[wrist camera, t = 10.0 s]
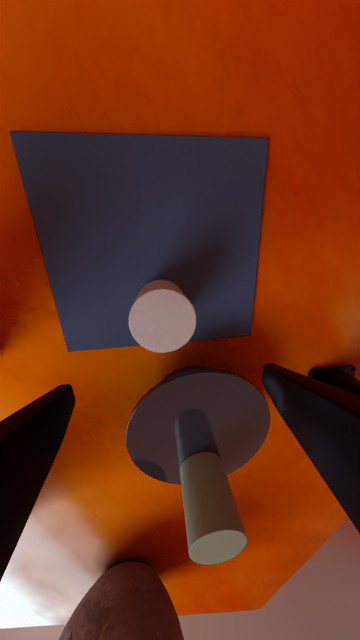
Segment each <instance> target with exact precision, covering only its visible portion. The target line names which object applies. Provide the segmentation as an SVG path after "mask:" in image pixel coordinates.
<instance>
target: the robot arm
mask: <svg viewBox="0 0 360 640" xmlns="http://www.w3.org/2000/svg"><path fill="white" fill-rule="evenodd" d="M355 371H356V367H355V366H353V365H344V366H335V367H326V368H318V369H312V370H310V372H309V376H308V377H307V376H305V375H302V374H299V373H297V372H294V371H291V370H289V369H286V368H284V367H281V366H278V365H276V364H273V363H271V364H265V365H264V366H263V373H262V382H263V385H264V386H265V388H266V390H267V392H268V394H269V396H270V397H271V399H272V401H273V403H274V405H275V407H276V408H277V410H278V412H279V414H280V415H281V417H282V418H283V420H284V421H285V423H286V424H287V426H288V427H289V429H290V430H291V432H292V433H293V435H294V436H295V438H296V439H297V441H298V442H299V444H300V445H301V447H302V448H303V449H304V451H305V452H306V454H307V455H308V457H309V458H310V460H311V461H312V463H313V464H314V466H315V467H316V469H317V470H318V472H319V473H320V475H321V476H322V478H323V479H324V481H325V482H326V484H327V485H328V487H329V488H330V490H331V491H332V493H333V494H334V496H335V497H336V499H337V500H338V502H339V503H340V505H341V506H342V508H343V509H344V511H345V512H346V514H347V515H348V517H349V518H350V520H351V521H352V523H353V524H354V526H355V527H356V529H357V530H358V532H359V533H360V381H359V380H357V379H356V378H354V374H355ZM74 406H75V396H74V393H73V389H72V386H71V385H70V384H65V385H59V386H57V387H56V388H54V389H53V390H51V391H49V392H48V393H46V394H44V395H43V396H41V397H39V398H38V399H36V400H35V401H33V402H31V403H30V404H28V405H26V406H25V407H23V408H21V409H20V410H18V411H17V412H15V413H13V414H12V415H10V416H8V417H7V418H5V419H3V420H2V421H0V581H1V579H2V576H3V574H4V572H5V570H6V567H7V565H8V563H9V561H10V558H11V556H12V554H13V552H14V549H15V547H16V545H17V543H18V541H19V538H20V536H21V534H22V532H23V529H24V527H25V525H26V523H27V520H28V518H29V516H30V514H31V511H32V509H33V507H34V505H35V502H36V500H37V498H38V496H39V493H40V491H41V489H42V487H43V484H44V482H45V480H46V478H47V475H48V473H49V471H50V469H51V466H52V464H53V462H54V460H55V457H56V455H57V453H58V451H59V448H60V446H61V444H62V441H63V439H64V436H65V433H66V430H67V427H68V424H69V421H70V418H71V415H72V412H73V409H74Z"/></svg>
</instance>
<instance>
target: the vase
mask: <svg viewBox="0 0 360 640" xmlns="http://www.w3.org/2000/svg"><path fill="white" fill-rule="evenodd" d="M59 640H184V639H183V635H182V631H181V626H180V623H179V619H178V616H177V614H176V611H175V608H174V606H173V603H172V601H171V599H170V596H169V594H168V592H167V590H166V588H165V586H164V585H163V583H162V581H161V580H160V578H159V577H158V575H157V574H156V573H155V571H154V570H153V569H152V568H151V567H150V566H149V565H147V564H145V563H141V562H135V561H129V562H123V563H120V564H117V565H115V566H113V567H111V568H110V569H108V570H107V571H106V572H104V573H103V574H102V575H101V577H100V578H99V579H98V580H97V581H96V582H95V584H94V585H93V586H92V587H91V588H90V590H89V591H88V592H87V593H86V595H85V596H84V597H83V599H82V600H81V601H80V603H79V604H78V606H77V607H76V609H75V610H74V612H73V614H72V616H71V618H70V619H69V621H68V623H67V625H66V626H65V628H64V630H63V632H62V634H61V636H60V638H59Z"/></svg>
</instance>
